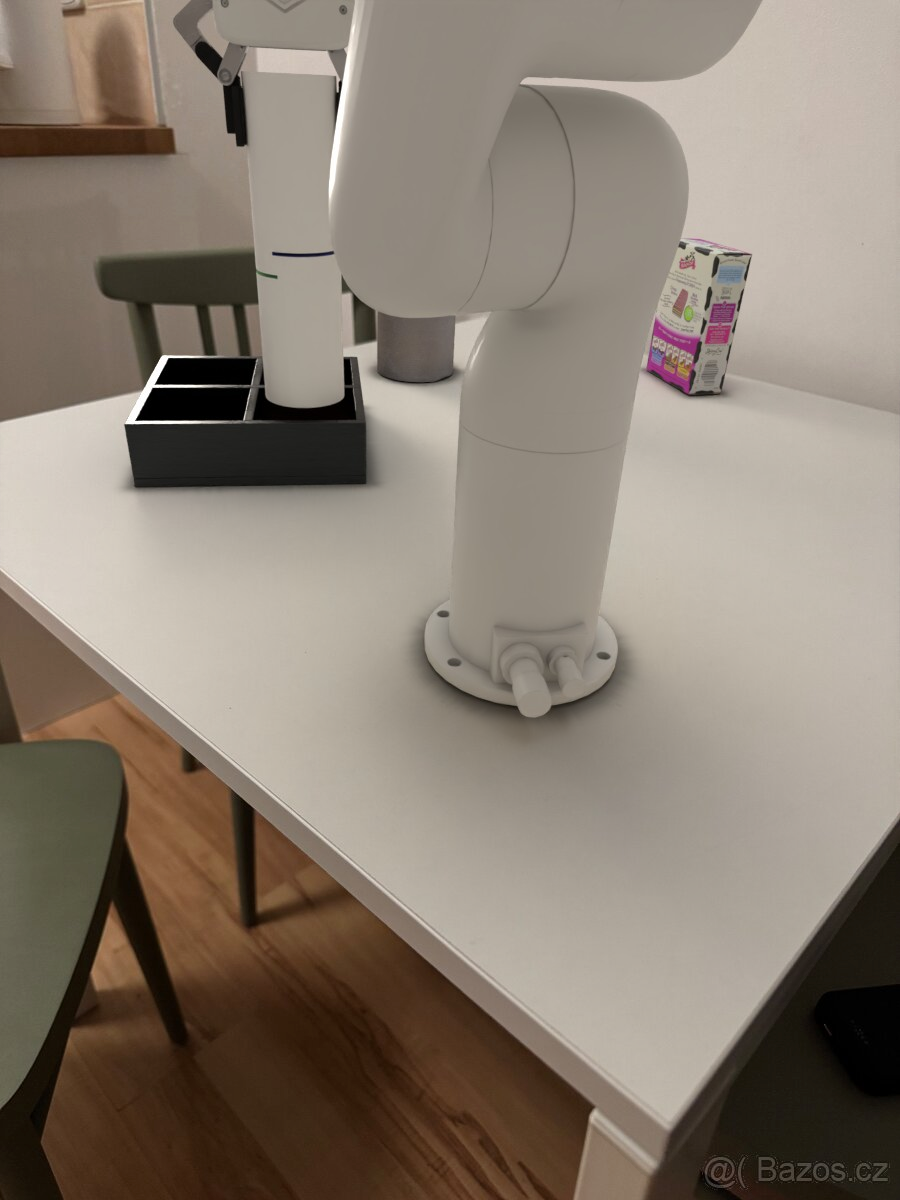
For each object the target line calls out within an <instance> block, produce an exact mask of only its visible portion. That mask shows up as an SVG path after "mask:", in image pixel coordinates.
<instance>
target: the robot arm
mask: <svg viewBox="0 0 900 1200" xmlns="http://www.w3.org/2000/svg"><path fill="white" fill-rule="evenodd" d="M762 3H763V0H190V1H188V2H187V4H186V5H184V6H183V8H181V10H179V12H178V13H176V14H175V16H174V17H173V19H172V23H173V27H174V29H175V30H176V31H177V32H178V33H179V35H180V36H181V37H182V39H183V40H184V41H185V43H186V44H187V45H188V47H189V48H190V49H191V50H192V51H193V53H194V54H195V56H196V57H197V58H198V59H199V61H200V62H201V63H202V64H203V65H204V66H205V67H206V68H207V69H208V70H209V72H210V73H212V74H213V76H214V77H215V78H216V79H217V80H218V81H219V83H220V84H221V85H222V91H223V101H224V102H223V103H224V105H223V106H224V114H225V126H226V127H225V128H226V133H227V134H228V135H229V134H230V135H235V145H236V147H240V148H244V147H246V146H247V142H246V129H245V116H244V102H243V89H242V80H241V77H240V74H241V71H242V67H243V65H244V63H245V60H246V58H247V55H248V52H249V51H250V48H256V49H257V48H259V49H275V50H276V49H277V50H291V51H292V50H295V51H314V52H326V53H327V55H328V57H329V59H330V61H331V64H332V66H333V68H334V70H335V72H336V74H337V77H338V78H339V81H337V82H338V84H337V86H338V87H337V88H338V89H337V93H336V99H337V122H336V129H335V136H334V144H333V151H332V158H331V167H330V179H329V226H330V234H331V241H332V246H333V251H334V255H335V258H336V261H337V265H338V267H339V269H340V272H341V277H342V278H343V280H344V282H345V283H346V285H347V286H348V288H349V289H350V290H351V292H352V293H353V294H354V295H355V296H356V297H357V298H358V300H360V301H361V302H362V303H364V304H365V305H366V306H368V307H369V308H371V309H372V310H374V311H377V312H378V311H379V312H381V313H384V314H387V315H390V316H396V317H402V318H432V317H444V316H454V315H456V316H462V315H472V314H482V313H489V315H488V316H487V318H486V320H485V323H484V324H483V326H482V328H481V330H480V332H479V334H478V336H477V338H476V340H475V342H474V345H473V347H472V349H471V351H470V354H469V356H468V359H467V363H466V365H465V369H464V372H463V377H462V381H461V389H460V396H459V397H460V398H459V414H458V429H457V430H458V431H457V433H458V434H457V452H456V453H457V454H456V469H455V470H456V472H455V475H456V476H455V489H454V490H455V491H454V511H453V533H452V550H451V551H452V552H451V574H450V591H449V599H447V600H446V601H444V602H442V603H441V604H439V605H438V606H437V607H436V608H435V609H434V610H433V611H432V612H431V614H430V615H429V617H428V619H427V621H426V623H425V628H424V637H423V639H424V651H425V654H426V657H427V661H428V662H429V663H430V665H431V666H432V668H433V669H434V670H435V672H436V673H438V674H439V676H440V677H442V678H443V679H444V680H445V681H446V682H448V683H449V684H451V685H452V686H454V687H455V688H457V689H459V690H460V691H462V692H464V693H467V694H469V695H471V696H473V697H475V698H478V699H481V700H485V701H489V702H492V703H495V704H501V705H506V706H507V705H508V706H513V707H517V708H518V710H519V712H520V714H521V715H523V716H525V717H526V718H533V719H535V718H539V717H542V716H544V715H545V714H546V713H549V711H550V710H551V708H552V706H556V705H557V706H558V705H562V704H566V703H571V702H573V701H574V702H575V701H577V700H579V699H582V698H585V697H587V696H589V695H591V694H592V693H594V692H596V691H597V690H599V689H600V688H602V686H604V684H606V683H607V681H608V680H609V679H610V678H611V676H612V675H613V672H614V670H615V668H616V664H617V658H618V653H619V646H618V639H617V637H616V634H615V631H614V630H613V629H612V627H611V625H610V624H609V623H608V621H607V620H606V619H605V618H604V617H603V616H601V615H600V610H601V604H602V597H603V591H604V586H605V579H606V572H607V566H608V561H609V560H608V559H609V555H610V554H609V553H610V548H611V542H612V536H613V530H614V524H615V518H616V511H617V505H618V499H619V493H620V487H621V482H622V481H621V480H622V475H623V474H622V473H623V469H624V468H623V467H624V462H625V456H626V450H627V443H628V437H629V434H630V428H631V424H632V418H633V417H632V416H633V411H634V405H635V399H636V394H637V388H638V384H639V383H638V382H639V378H640V373H641V368H642V363H643V358H644V354H645V349H646V345H647V341H648V338H649V335H650V331H651V327H652V323H653V320H654V318H655V315H656V311H657V305H658V302H659V299H660V296H661V294H662V291H663V288H664V285H665V283H666V280H667V277H668V275H669V272H670V269H671V266H672V264H673V261H674V258H675V255H676V252H677V249H678V246H679V243H680V240H681V238H682V235H683V231H684V227H685V224H686V219H687V213H688V207H689V193H690V182H689V181H690V180H689V170H688V165H687V164H688V163H687V160H686V156H685V152H684V149H683V147H682V144H681V142H680V140H679V138H678V137H677V135H676V132H675V130H674V129H673V128H672V127H671V125H670V123H668V121H667V120H666V119H665V118H664V117H663V116H662V115H661V114H660V113H659V112H657V111H656V110H655V109H653V108H652V107H651V106H650V105H648V104H647V103H645V102H643V101H641V100H640V99H637V98H635V97H632V96H629V95H626V94H624V93H620V92H618V91H613V90H608V89H607V90H606V89H601V88H596V87H595V88H594V87H586V86H585V87H584V86H568V85H547V84H546V85H544V84H524V83H522V82H523V80H525V79H527V78H540V79H541V78H542V79H567V80H568V79H570V80H586V81H601V82H602V81H603V82H623V83H624V82H626V83H627V82H628V83H652V82H653V83H654V82H655V83H656V82H668V81H679V80H683V79H687V78H691V77H694V76H697V75H700V74H703V73H704V72H706V71H707V70H709V69H711V68H713V66H715V65H716V64H717V63H719V62H720V61H722V59H724V58H725V57H726V56H727V55H728V54H729V53H730V52H731V51H732V50H733V48H734V47H735V46H736V44H737V43H738V42H739V41H740V39H741V38H742V36H744V33H745V32H746V30H747V29H748V27H749V25H750V24H751V22H752V21H753V19H754V17H755V15H756V14H757V12H758V10H759V8H760V7H761V5H762ZM211 12H213V20H214V27H215V30H216V32H217V34H218V36H219V37H221V38H222V39H223V40H224V41H226V42H228V44H227V46H226V49H225V52H224V54H223V56H221V54H220V53H219V52H218V51H217V50H216V49H215V48H214V47H213V45H212V44H210V42H209V41H208V39H207V38H206V37H205V36H204V34H203V33H202V32H201V29H200V26H201V25H200V24H201V23H202V22H203V20H205V18H206V17H207V16H209V15H210V13H211ZM345 48H347V52H346V49H345Z"/></svg>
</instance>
